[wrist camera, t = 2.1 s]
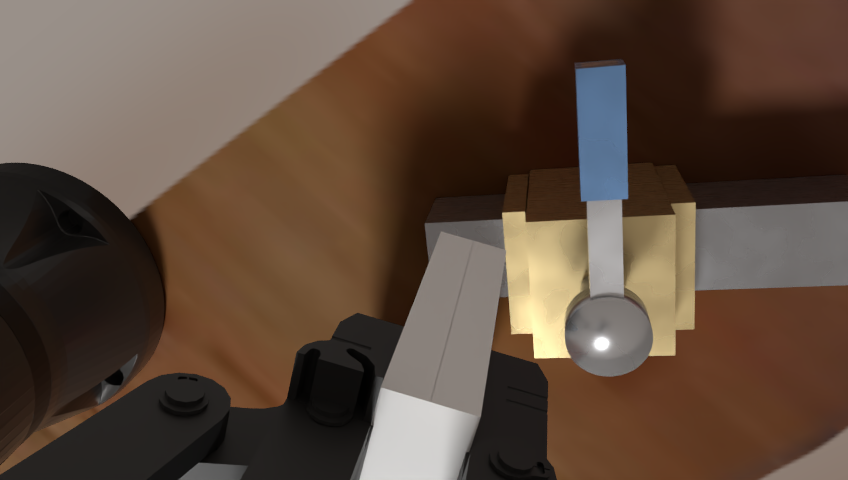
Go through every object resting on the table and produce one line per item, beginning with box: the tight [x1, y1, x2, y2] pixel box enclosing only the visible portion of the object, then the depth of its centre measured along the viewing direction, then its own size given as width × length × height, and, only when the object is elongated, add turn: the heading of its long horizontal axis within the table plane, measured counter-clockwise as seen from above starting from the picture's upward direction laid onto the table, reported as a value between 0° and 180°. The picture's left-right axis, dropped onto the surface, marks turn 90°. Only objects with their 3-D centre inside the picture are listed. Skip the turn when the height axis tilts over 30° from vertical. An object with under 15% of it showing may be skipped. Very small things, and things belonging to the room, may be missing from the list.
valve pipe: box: [425, 162, 848, 358], centre depth 35 cm, size 20×6×11 cm, turn 96°
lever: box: [564, 59, 653, 376], centre depth 29 cm, size 3×12×1 cm, turn 6°
